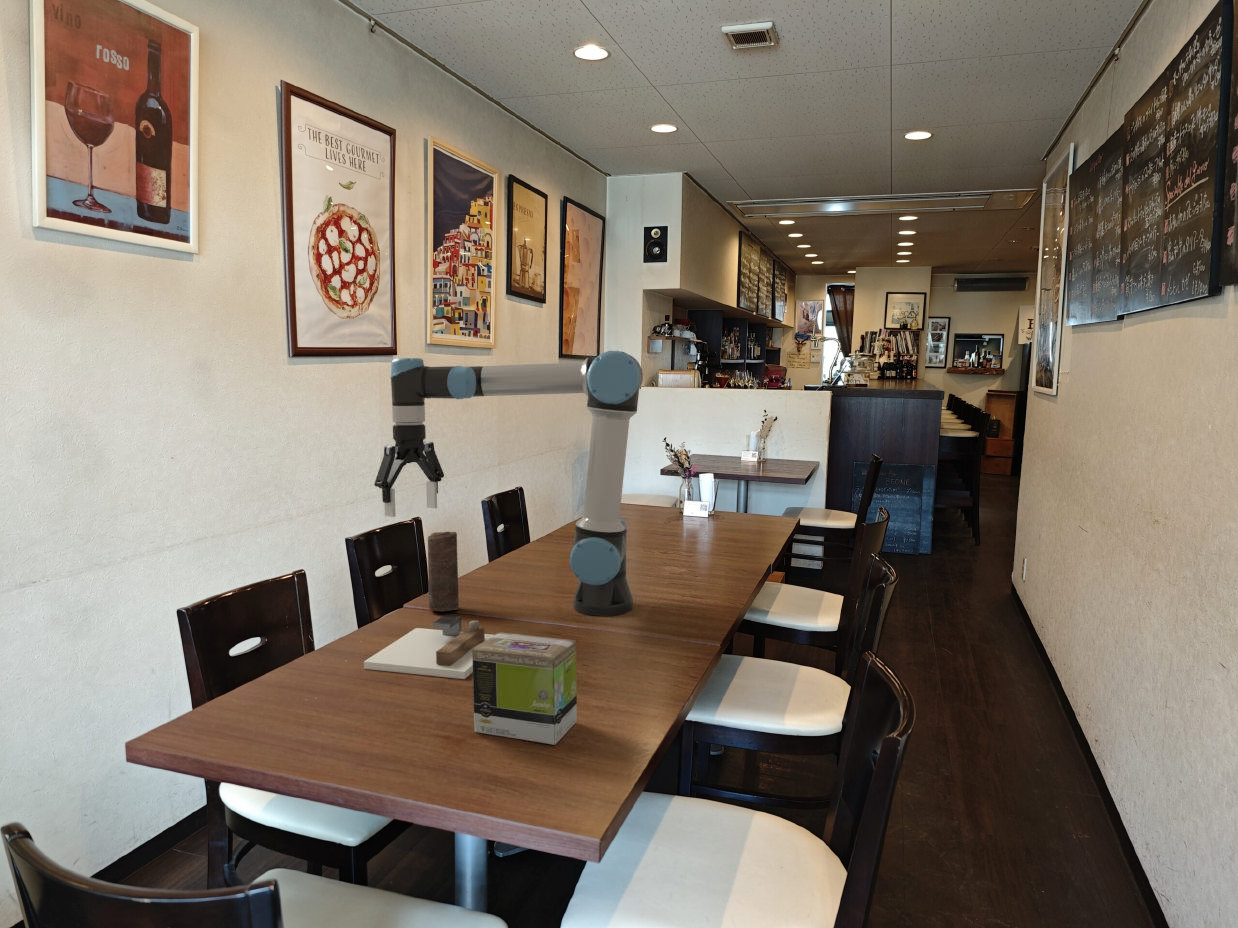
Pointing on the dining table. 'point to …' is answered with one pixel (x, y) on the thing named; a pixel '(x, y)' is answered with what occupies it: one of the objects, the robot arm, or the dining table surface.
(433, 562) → the candle
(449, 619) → the keeper
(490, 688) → the tea box
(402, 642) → the base plate
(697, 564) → the dining table surface
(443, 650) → the link
